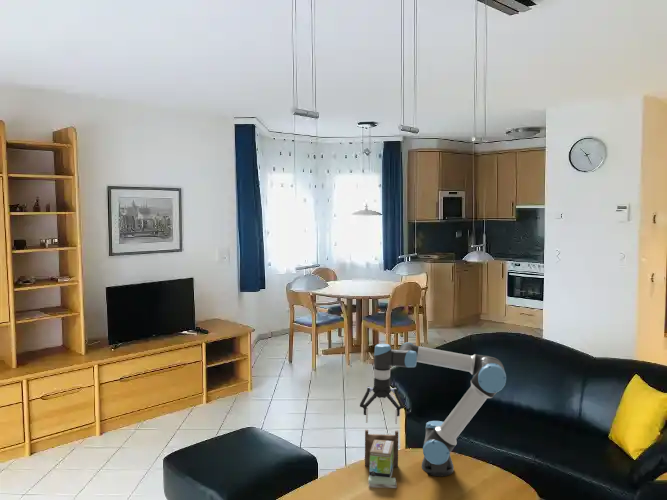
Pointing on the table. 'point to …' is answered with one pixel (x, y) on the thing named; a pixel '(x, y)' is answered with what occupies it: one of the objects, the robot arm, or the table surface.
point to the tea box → (381, 458)
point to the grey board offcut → (384, 485)
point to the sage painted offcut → (382, 480)
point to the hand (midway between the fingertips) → (381, 422)
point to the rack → (370, 438)
